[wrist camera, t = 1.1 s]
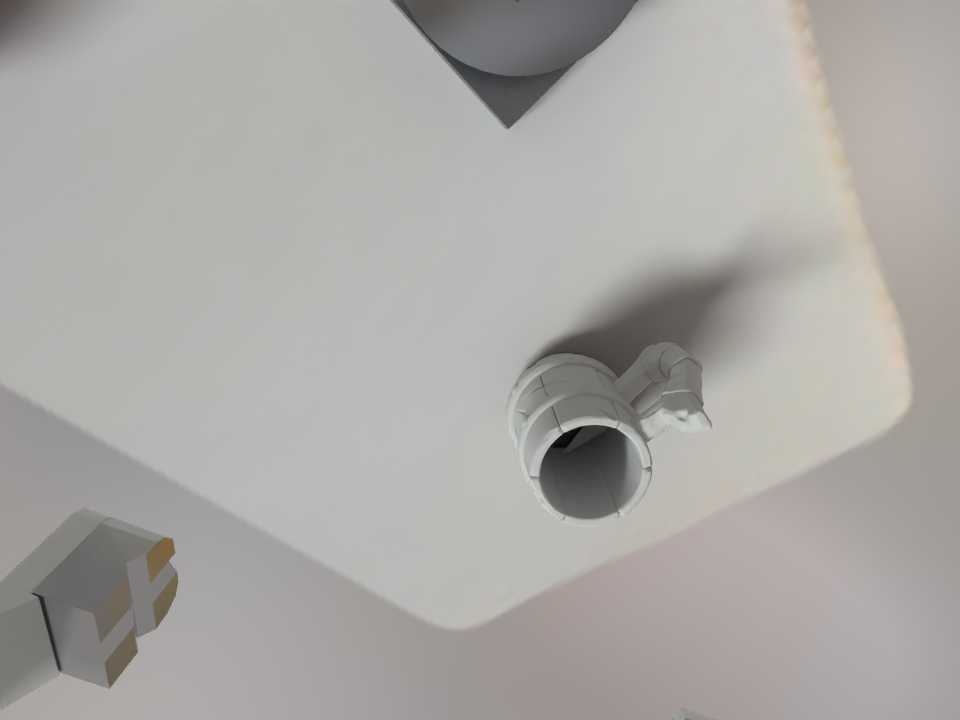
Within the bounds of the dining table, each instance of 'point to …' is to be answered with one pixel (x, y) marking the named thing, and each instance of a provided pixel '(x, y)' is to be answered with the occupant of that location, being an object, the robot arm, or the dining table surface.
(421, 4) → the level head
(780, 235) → the dining table surface
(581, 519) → the mug
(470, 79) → the stand
